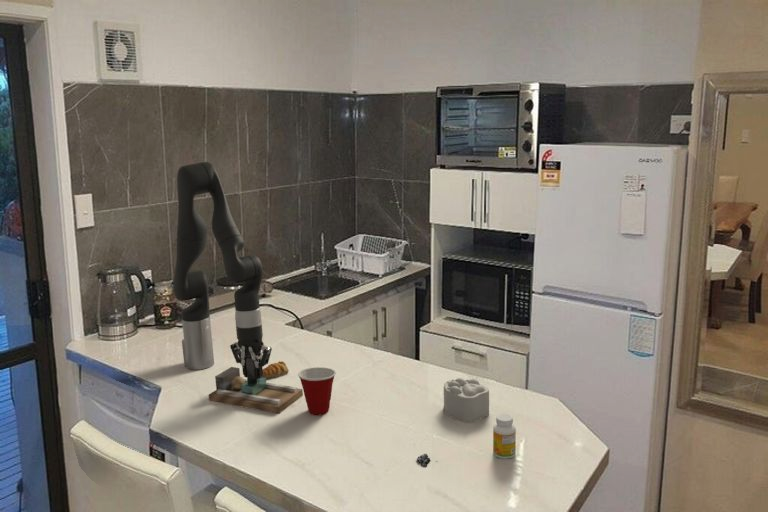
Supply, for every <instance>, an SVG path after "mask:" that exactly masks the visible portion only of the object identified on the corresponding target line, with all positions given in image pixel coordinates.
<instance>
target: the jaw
mask: <svg viewBox="0 0 768 512" xmlns="http://www.w3.org/2000/svg"><path fill="white" fill-rule="evenodd" d="M245 359H246V371H247V377H246V379H247V382H245V383H244V384H242V385H241V390H242V393H245V394H251V395H256V394H257V393H259V392H260V391H262V390H263V389H264V388H266V383H267V379H266V378H262V377H261V378H260V379H256V374H255V368H256V367H255V363H254V361H253V360H252V357H251V356H247V357H245Z"/></svg>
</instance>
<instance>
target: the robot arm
mask: <svg viewBox="0 0 768 512" xmlns="http://www.w3.org/2000/svg"><path fill="white" fill-rule="evenodd" d="M176 188H177V202H178V204H177V205H178V206H177V207H178V208H177V209H178V214H177V227H176V228H177V229H176V258H175V259H176V261H175V268H174V275H173V293H174V296H175V299H177V300H178V301H190V300H195V301H193V303H192V304H190V305H189V306H187V307H185V308H183V309H182V311H181V315H180V317H181V324H182V334H183V339H182V340H181V346H182V355H183V357H182V358H183V363H184V364H183V365H184V367H186V368H187V369H189V370H195V371H196V370H204V369H208V368H210V367H213V366H214V364H215V359H214V358H215V357H214V345H213V337H212V335H213V334H212V326H211V315H210V314H211V313H210V298H209V282H208V281H209V280H208V276H207V274H206V273H205V272H204V271H203V270H193V271H190V270H191V267H193V265H194V264H195V262H196V261H198V258H200V256H201V255H202V254H203V252H204V251H205V249H206V247H207V243H208V225H207V223H206V221H205V220H204V219H203V217H202V216H201V214H200V213H199V212H198V210H196V207H195V204H194V201H195V196H197V195H198V196H200V195H203V194H208V193H209V195H210V197H211V199H212V202H213V212H212V219H211V230H212V234H213V236H214V238H215V240H216V242H217V244H218V246H219V249H220V250H221V254H222V260H223V265H224V271H225V274H226V276H227V278H228V279H229V280H230V281H231V282H233V283H235V284H237V283H238V284H239V283H243V285H242V286H241V287H239V288H238V289H237V290H235V292H234V294H233V296H234V312H235V318H234V320H235V328H236V329H235V331H236V339H237V341H236V342H233V343H231V344H230V346H229V347H230V350H231V352H232V355H233V358H234V360H235V362H236V363H237V364H240V365H241V367H242V375H243V378H247V371H246V359H245V357H247V356H251V357H252V360H253V361H254V363H255V367H256V368H255V374H256V379H260V378H261V377H262V376H263V369H264V368H263V367H265V366H266V365H268V364H269V361H270V358H271V353H272V350H273V349H272V346H266V345H264V342H263V334H264V333H263V321H262V320H263V319H262V313H261V306H260V297H259V294H260V288H261V284H262V279H263V278H262V277H263V273H264V272H263V264H262V262H261V259H260V258H259V257H258V256H257V255H254V254H253V255H252V254H249V255H246V256H241V257H238V253H239V252H241V251H242V250H243V249H244V248H245V241H244V237H243V236H242V234H241V233H240V231H239V228H238V226H237V224H236V222H235V219H234V217H233V215H232V213H231V210H230V207H229V204H228V200H227V197H226V195H225V190H224V188H223V184H222V182H221V179H220V176H219V174H218V171H217V169H216V168H215V166H214V164H212V163H211V162H208V161H202V162H196V163H192V164H191V163H190V164H185V165H182V166H180V167H179V168H178V171H177V176H176Z"/></svg>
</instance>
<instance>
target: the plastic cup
mask: <svg viewBox="0 0 768 512" xmlns="http://www.w3.org/2000/svg"><path fill="white" fill-rule="evenodd" d="M336 374H337V372H336V370H335V369H333V368H329V367H324V366H323V367H319V366H317V367H316V366H315V367H309V368H304V369H302V370H300V371H298V373H297V376H298V378H299V380H300V383H301V387H302V390H303V396H304V398H305V399H304V400H305V403H306V406H307V411H308V412H309V414H310V415H312V416H323V415H326V414H327V413H329V411H330V404H331V399H332V391H333V383H334V380H335V376H336Z"/></svg>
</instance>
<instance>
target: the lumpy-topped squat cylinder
mask: <svg viewBox="0 0 768 512" xmlns="http://www.w3.org/2000/svg"><path fill="white" fill-rule="evenodd" d="M443 410H444V413H445V414H446V416H447V415H448V417H451V418H452V419H454V420H457V421H460V422H463V423H476V422H477V421H480V419H485V418H486V417H488V416H489V415H490V389H489V387H487V386H485V385H483V384H481V383H480V382H479V380H477V379H476V378H470V379H465V378H462V377H458V378H456V379H450V380H447V381H445V383H444V385H443Z"/></svg>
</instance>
